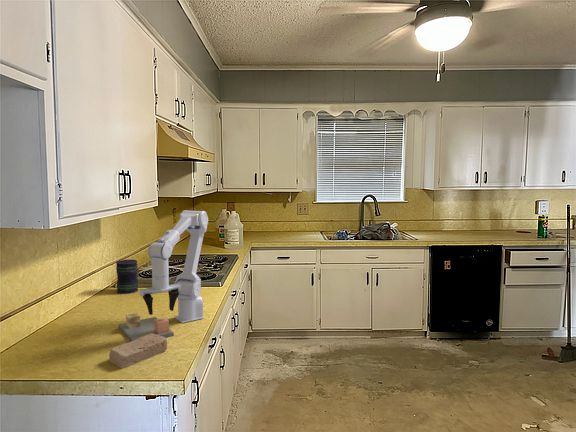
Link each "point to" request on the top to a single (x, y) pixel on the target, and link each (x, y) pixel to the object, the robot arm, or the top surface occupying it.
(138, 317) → the maple block
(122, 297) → the top surface
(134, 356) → the brick
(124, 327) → the plate
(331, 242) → the top surface
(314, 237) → the top surface
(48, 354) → the top surface
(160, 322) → the terracotta block
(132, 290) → the storage jar
